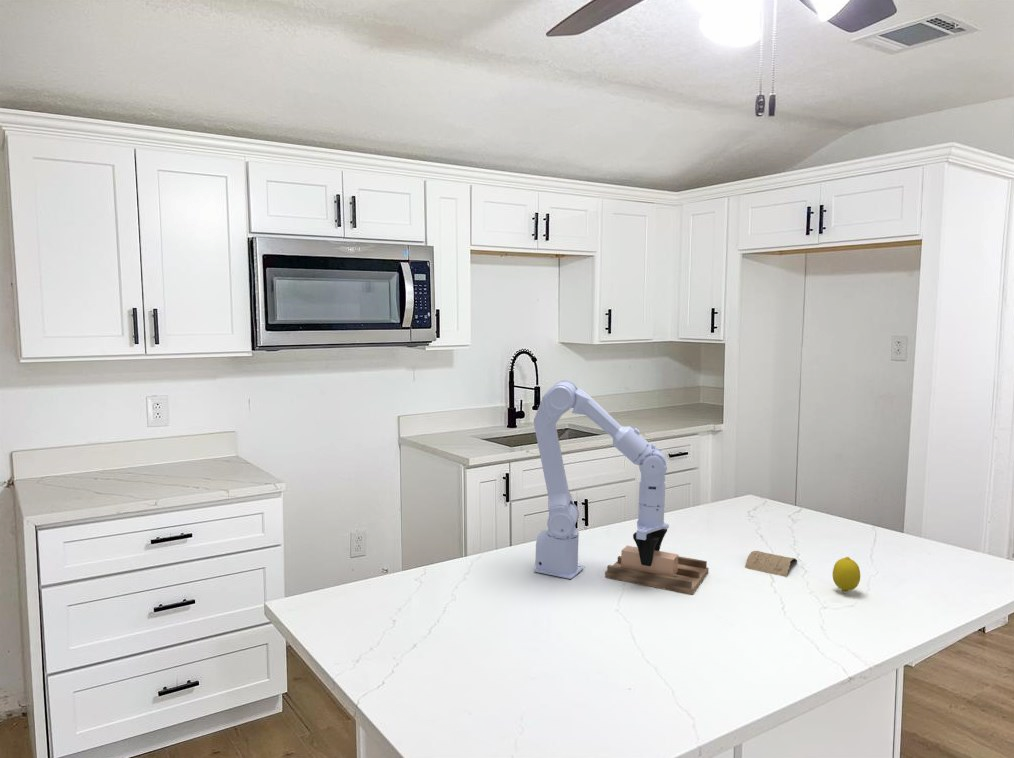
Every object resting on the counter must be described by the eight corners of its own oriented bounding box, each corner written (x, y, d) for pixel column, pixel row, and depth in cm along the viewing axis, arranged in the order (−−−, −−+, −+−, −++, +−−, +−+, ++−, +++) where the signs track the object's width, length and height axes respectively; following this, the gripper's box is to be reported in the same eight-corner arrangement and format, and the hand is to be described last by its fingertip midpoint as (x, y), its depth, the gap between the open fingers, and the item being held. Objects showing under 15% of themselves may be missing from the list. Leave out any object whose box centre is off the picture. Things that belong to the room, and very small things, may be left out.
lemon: (830, 594, 163) (832, 558, 163) (832, 585, 168) (834, 551, 167) (858, 599, 161) (861, 563, 160) (859, 590, 166) (862, 555, 165)
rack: (604, 577, 171) (605, 565, 170) (626, 557, 184) (626, 547, 184) (692, 594, 162) (693, 582, 161) (708, 572, 175) (708, 561, 175)
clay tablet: (786, 580, 173) (787, 569, 172) (742, 571, 178) (742, 560, 178) (798, 562, 185) (799, 551, 185) (756, 554, 190) (757, 544, 190)
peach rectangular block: (620, 567, 171) (621, 550, 170) (626, 562, 174) (627, 545, 174) (672, 577, 165) (673, 559, 165) (677, 571, 169) (678, 554, 168)
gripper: (659, 514, 160) (657, 575, 162) (677, 498, 173) (675, 555, 174) (628, 509, 163) (625, 569, 165) (647, 494, 176) (645, 550, 178)
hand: (649, 562), depth 170 cm, fingers closed on peach rectangular block, 4 cm apart
